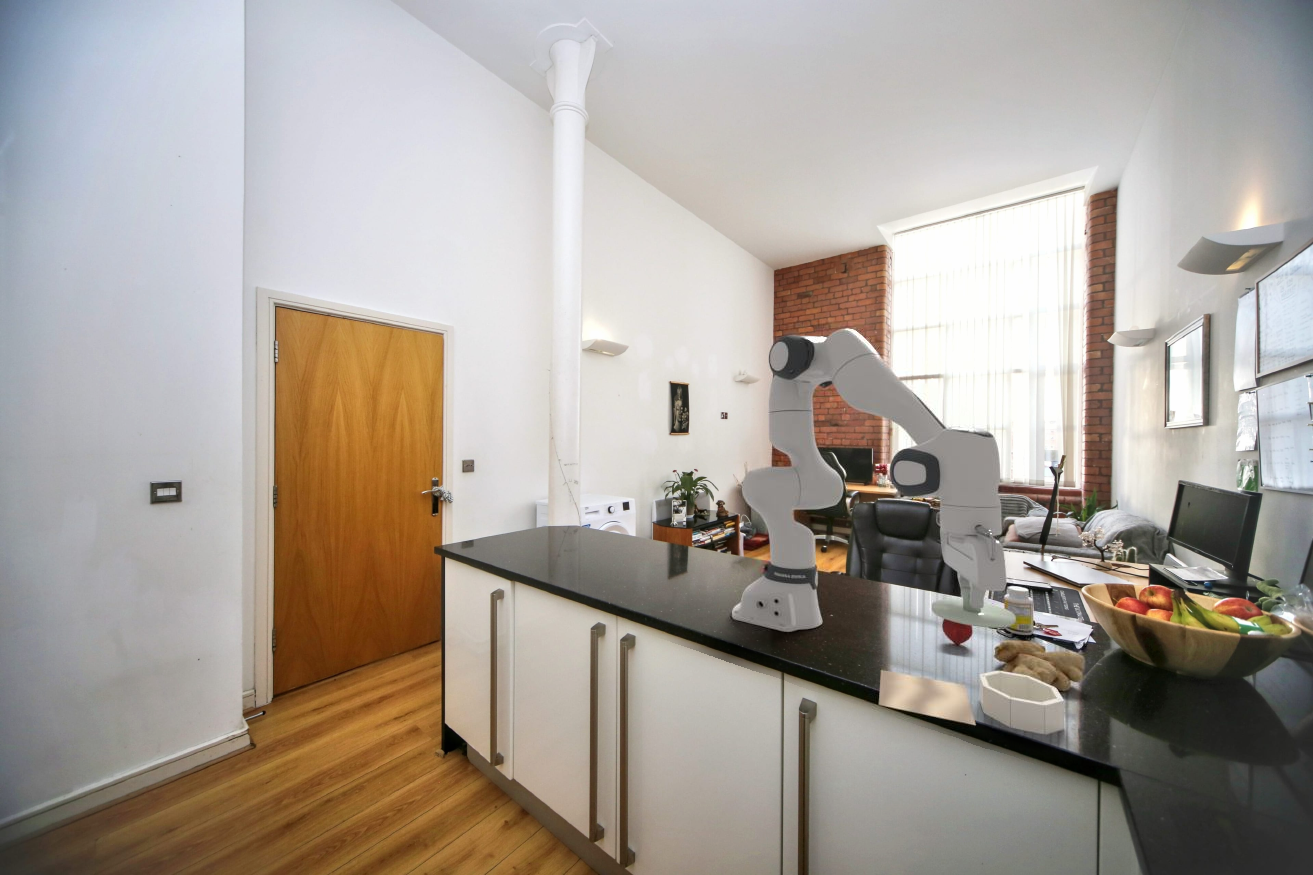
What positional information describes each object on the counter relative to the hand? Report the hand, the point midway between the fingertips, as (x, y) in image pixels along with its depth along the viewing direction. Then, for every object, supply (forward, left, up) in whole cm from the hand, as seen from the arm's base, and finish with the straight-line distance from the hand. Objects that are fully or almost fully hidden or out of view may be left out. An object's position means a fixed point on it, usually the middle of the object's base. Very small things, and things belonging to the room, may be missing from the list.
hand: (971, 603), depth 84 cm
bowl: (+7, +1, -18) cm, 19 cm away
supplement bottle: (+15, +45, -18) cm, 50 cm away
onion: (+1, +30, -18) cm, 35 cm away
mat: (-7, +1, -18) cm, 19 cm away
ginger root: (+12, +18, -18) cm, 28 cm away
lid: (0, 0, -2) cm, 2 cm away
